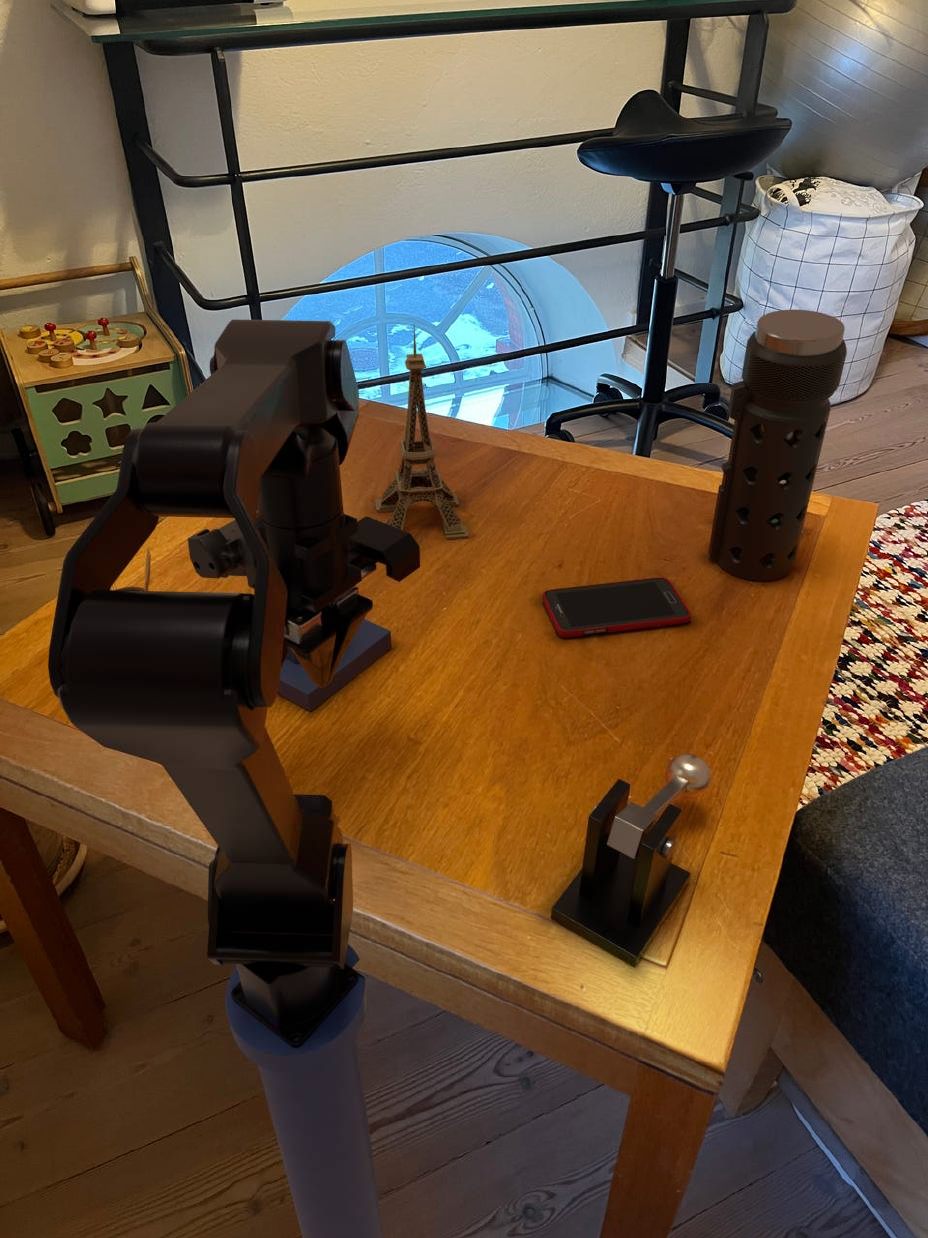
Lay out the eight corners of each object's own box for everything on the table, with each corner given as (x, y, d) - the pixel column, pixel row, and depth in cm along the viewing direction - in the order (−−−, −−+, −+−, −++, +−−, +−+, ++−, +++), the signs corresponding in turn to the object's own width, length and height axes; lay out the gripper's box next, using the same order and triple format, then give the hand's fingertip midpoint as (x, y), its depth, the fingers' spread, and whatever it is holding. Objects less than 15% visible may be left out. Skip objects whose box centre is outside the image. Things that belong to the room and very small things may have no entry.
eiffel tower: (381, 544, 109) (368, 339, 94) (375, 501, 118) (362, 306, 103) (468, 537, 111) (469, 334, 96) (456, 495, 119) (455, 302, 104)
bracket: (608, 840, 74) (621, 753, 68) (688, 882, 70) (709, 795, 65) (550, 918, 68) (558, 830, 62) (634, 968, 65) (652, 881, 59)
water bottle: (714, 584, 103) (806, 582, 103) (754, 344, 86) (866, 340, 85) (698, 537, 110) (784, 535, 110) (732, 307, 93) (834, 304, 93)
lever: (670, 777, 76) (681, 740, 75) (710, 796, 74) (723, 759, 73) (595, 847, 65) (607, 804, 63) (641, 871, 63) (654, 828, 62)
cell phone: (693, 623, 97) (694, 616, 96) (559, 640, 94) (559, 632, 94) (666, 583, 103) (667, 575, 102) (539, 597, 100) (540, 590, 100)
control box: (310, 712, 86) (306, 679, 83) (236, 672, 90) (230, 640, 88) (391, 647, 94) (390, 616, 91) (320, 613, 98) (316, 583, 96)
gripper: (309, 428, 71) (326, 592, 81) (108, 529, 59) (156, 708, 68) (422, 468, 66) (426, 638, 75) (227, 587, 54) (261, 772, 63)
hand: (321, 683), depth 71 cm, fingers closed
